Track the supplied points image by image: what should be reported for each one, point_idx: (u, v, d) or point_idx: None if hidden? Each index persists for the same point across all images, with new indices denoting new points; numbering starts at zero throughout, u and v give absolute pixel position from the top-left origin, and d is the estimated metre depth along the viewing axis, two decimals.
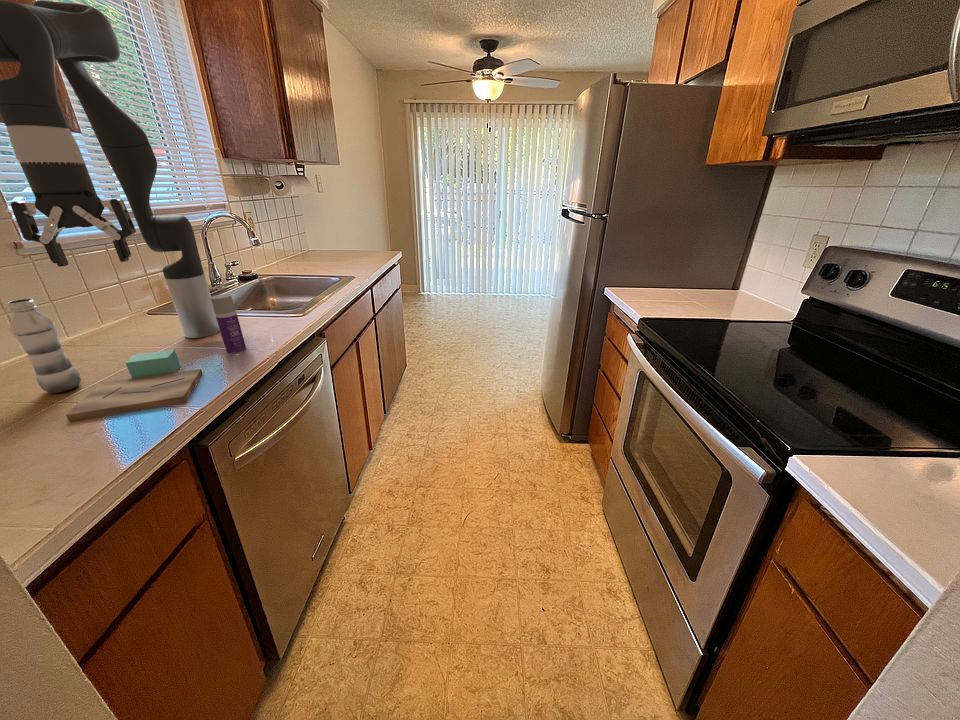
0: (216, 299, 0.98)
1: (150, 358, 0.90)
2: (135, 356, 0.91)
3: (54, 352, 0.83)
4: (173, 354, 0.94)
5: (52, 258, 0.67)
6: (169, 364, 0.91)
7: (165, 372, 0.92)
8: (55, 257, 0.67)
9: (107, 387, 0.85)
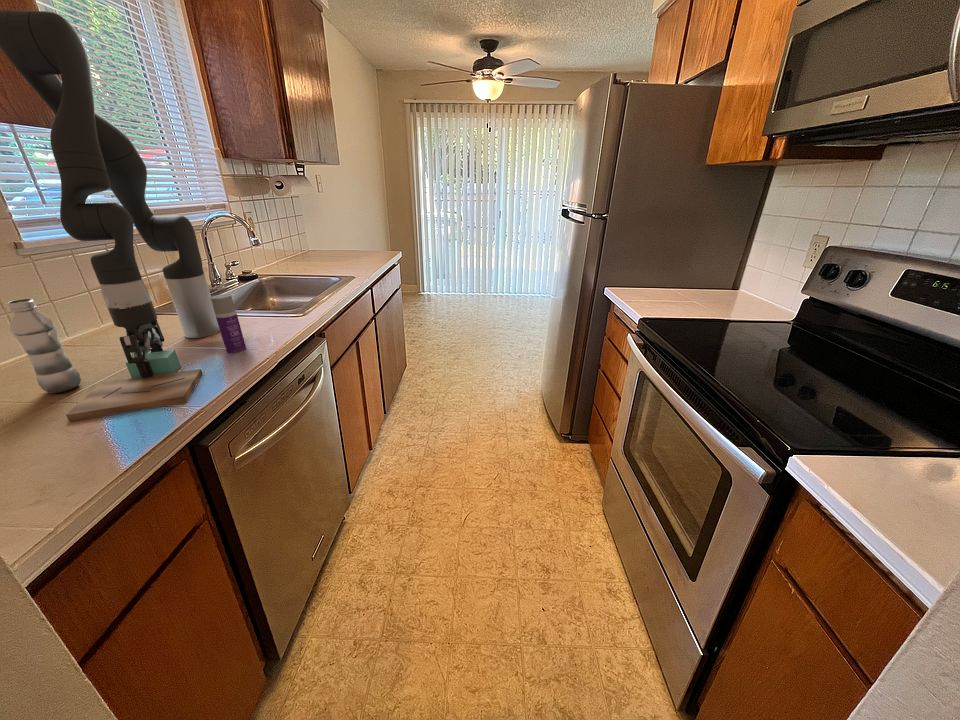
0: (216, 299, 0.98)
1: (150, 358, 0.90)
2: None
3: (54, 352, 0.83)
4: (173, 354, 0.94)
5: (148, 372, 0.88)
6: (168, 364, 0.91)
7: (164, 372, 0.92)
8: (151, 369, 0.89)
9: (107, 387, 0.85)
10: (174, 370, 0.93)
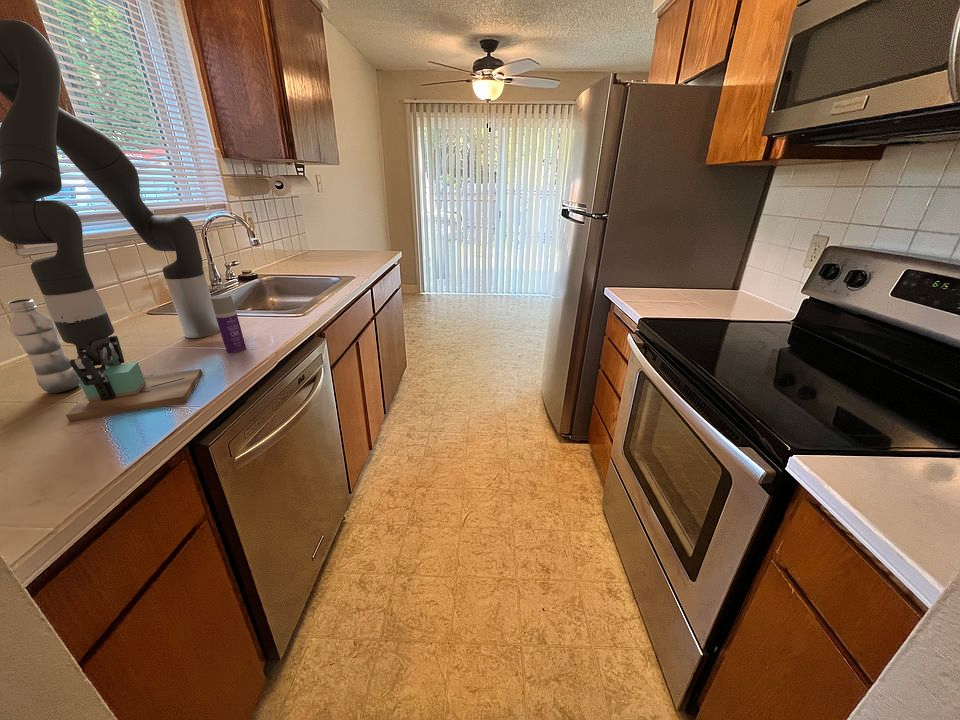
0: (216, 299, 0.98)
1: (107, 373, 0.79)
2: None
3: (54, 352, 0.83)
4: (135, 368, 0.83)
5: (109, 393, 0.79)
6: (130, 379, 0.80)
7: (125, 389, 0.81)
8: (112, 391, 0.80)
9: None
10: (137, 386, 0.82)
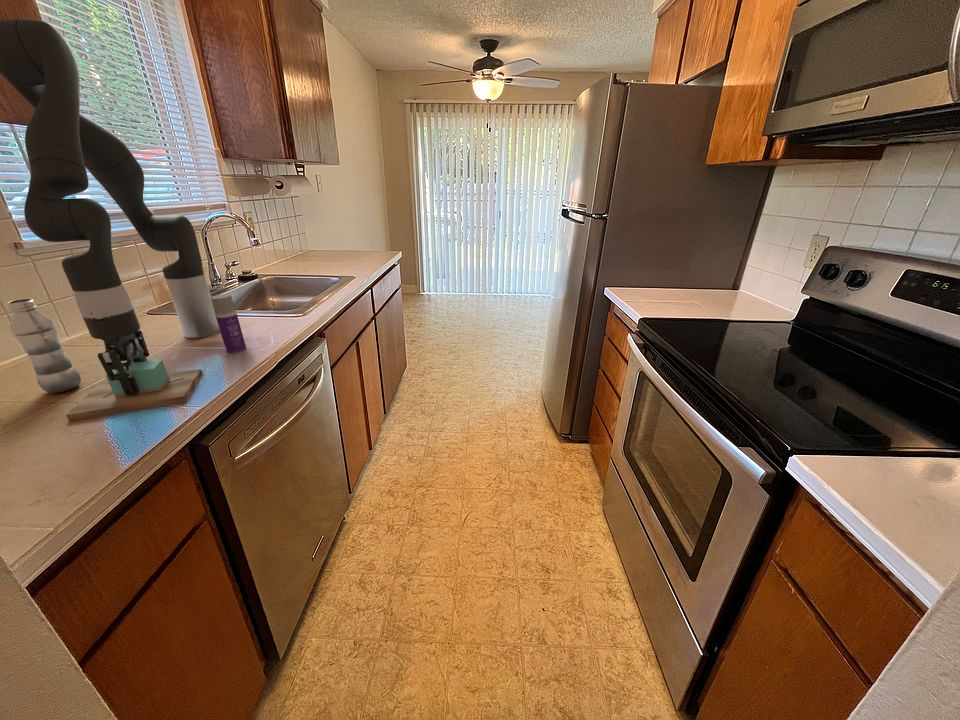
0: (216, 299, 0.98)
1: (134, 369, 0.81)
2: None
3: (54, 352, 0.83)
4: (160, 365, 0.84)
5: (133, 389, 0.80)
6: (155, 376, 0.82)
7: (151, 385, 0.82)
8: (136, 386, 0.80)
9: (107, 387, 0.85)
10: (162, 382, 0.83)
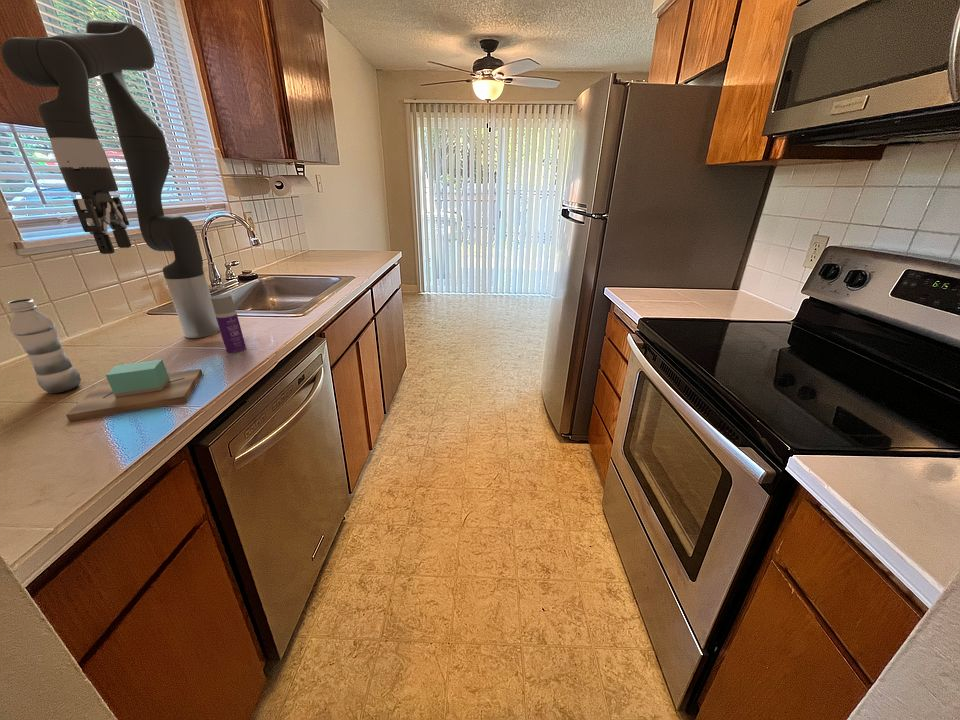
0: (216, 299, 0.98)
1: (134, 369, 0.81)
2: (117, 367, 0.82)
3: (54, 352, 0.83)
4: (160, 365, 0.84)
5: (108, 246, 0.80)
6: (155, 376, 0.82)
7: (151, 385, 0.82)
8: (111, 245, 0.81)
9: (107, 387, 0.85)
10: (162, 382, 0.83)
